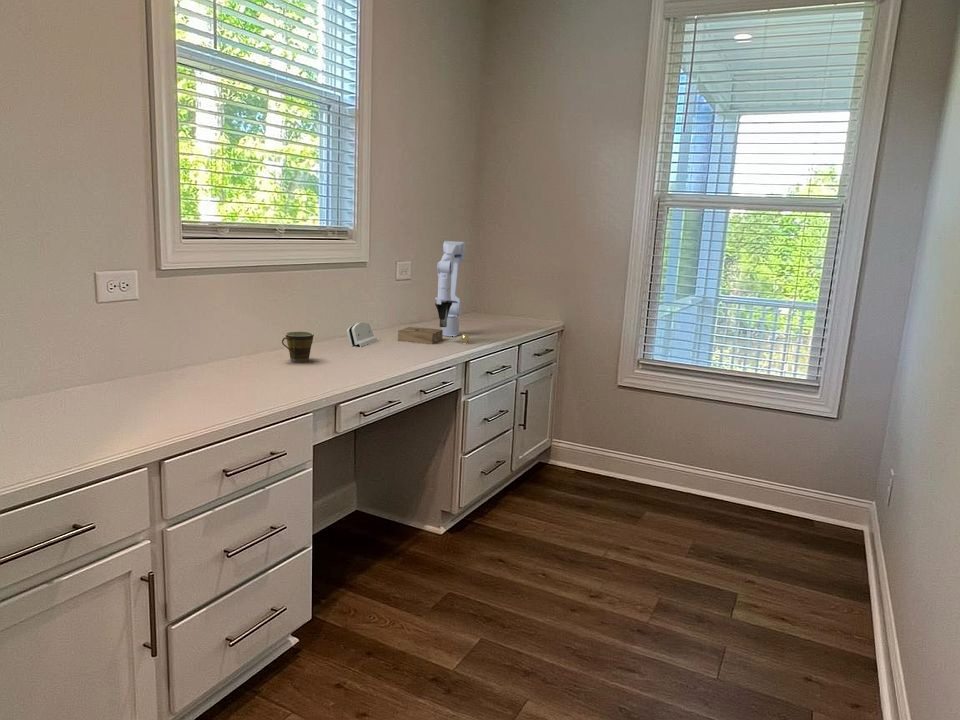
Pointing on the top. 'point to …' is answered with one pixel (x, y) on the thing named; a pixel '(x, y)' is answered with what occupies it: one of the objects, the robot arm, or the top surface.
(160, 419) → the top surface
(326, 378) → the top surface
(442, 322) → the tall pin
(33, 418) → the top surface
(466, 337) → the short pin
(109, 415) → the top surface
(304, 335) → the ceramic cup
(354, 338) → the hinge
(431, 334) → the hole block
